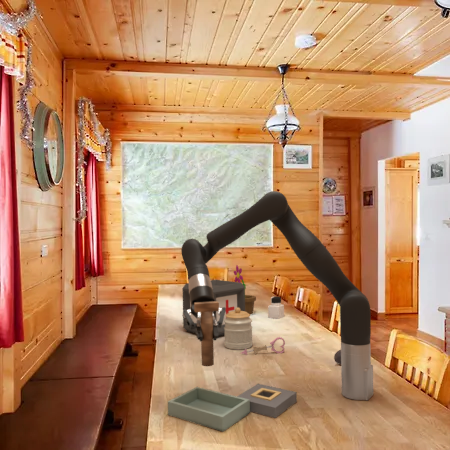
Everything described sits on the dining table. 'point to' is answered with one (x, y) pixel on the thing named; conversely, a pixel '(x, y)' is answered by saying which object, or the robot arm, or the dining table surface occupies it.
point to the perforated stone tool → (338, 357)
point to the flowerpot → (248, 298)
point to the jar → (238, 330)
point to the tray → (209, 408)
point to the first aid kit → (218, 300)
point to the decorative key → (257, 349)
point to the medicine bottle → (276, 308)
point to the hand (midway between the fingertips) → (208, 339)
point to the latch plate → (269, 399)
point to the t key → (207, 330)
